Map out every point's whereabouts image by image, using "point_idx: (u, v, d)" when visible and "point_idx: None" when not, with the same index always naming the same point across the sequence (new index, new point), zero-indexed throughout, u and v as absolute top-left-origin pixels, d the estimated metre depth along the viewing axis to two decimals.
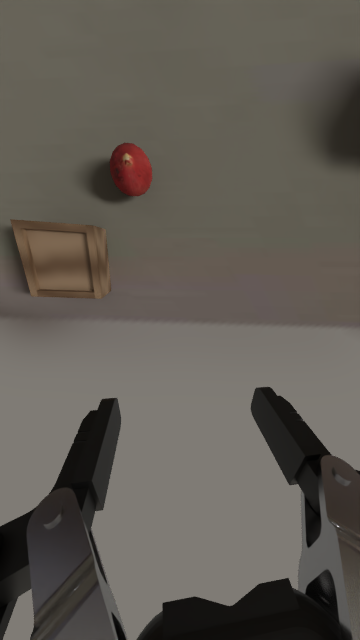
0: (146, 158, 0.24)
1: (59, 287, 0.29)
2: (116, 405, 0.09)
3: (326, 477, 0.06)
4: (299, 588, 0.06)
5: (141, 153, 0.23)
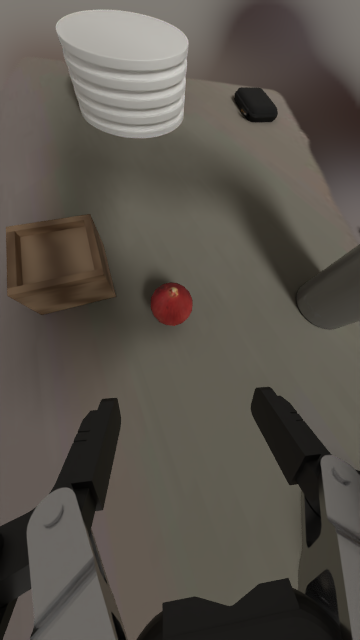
0: (186, 312, 0.23)
1: (24, 253, 0.24)
2: (116, 405, 0.09)
3: (326, 477, 0.06)
4: (299, 588, 0.06)
5: (187, 306, 0.22)
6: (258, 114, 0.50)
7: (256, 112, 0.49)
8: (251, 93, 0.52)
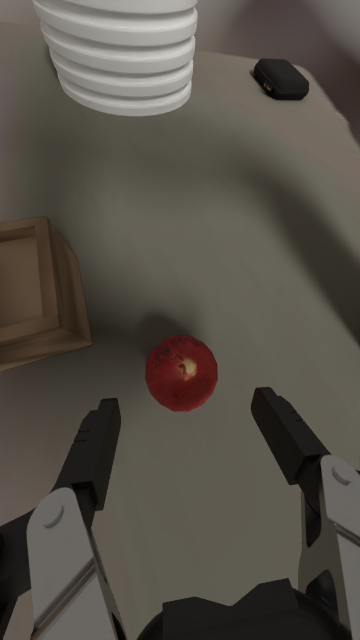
0: (209, 394, 0.12)
1: None
2: (116, 405, 0.09)
3: (326, 477, 0.06)
4: (299, 588, 0.06)
5: (211, 385, 0.12)
6: (286, 89, 0.40)
7: (283, 87, 0.39)
8: (275, 65, 0.42)
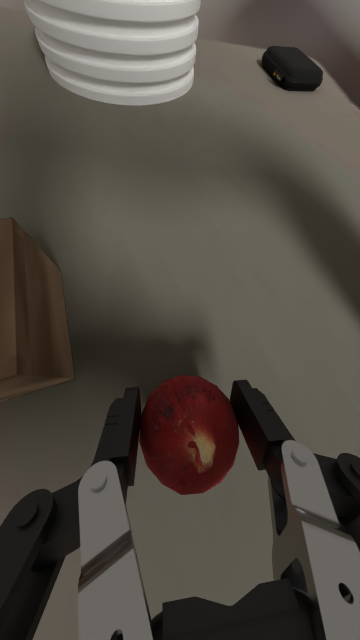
0: None
1: None
2: (138, 394, 0.10)
3: (287, 463, 0.06)
4: (274, 578, 0.06)
5: (232, 459, 0.08)
6: (298, 78, 0.36)
7: (295, 75, 0.36)
8: (286, 52, 0.38)
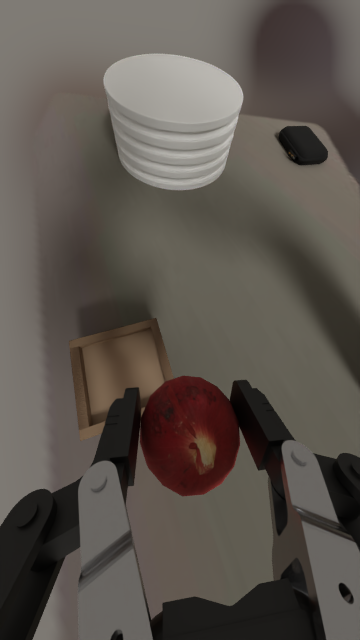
0: None
1: (88, 370, 0.21)
2: (138, 394, 0.10)
3: (287, 463, 0.06)
4: (274, 578, 0.06)
5: (233, 460, 0.08)
6: (308, 158, 0.47)
7: (306, 156, 0.46)
8: (299, 134, 0.49)
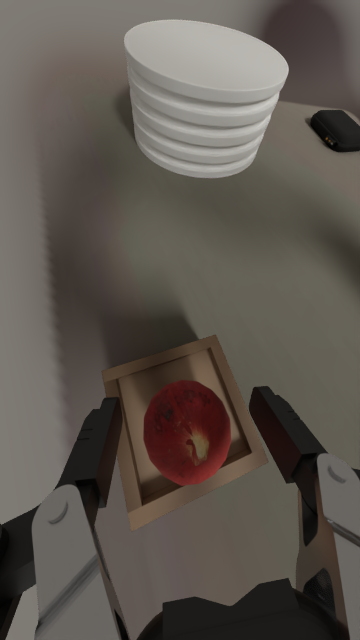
0: (222, 463, 0.10)
1: (130, 412, 0.15)
2: (118, 404, 0.09)
3: (322, 475, 0.06)
4: (297, 587, 0.06)
5: (225, 454, 0.10)
6: (348, 144, 0.42)
7: (347, 142, 0.41)
8: (335, 118, 0.44)
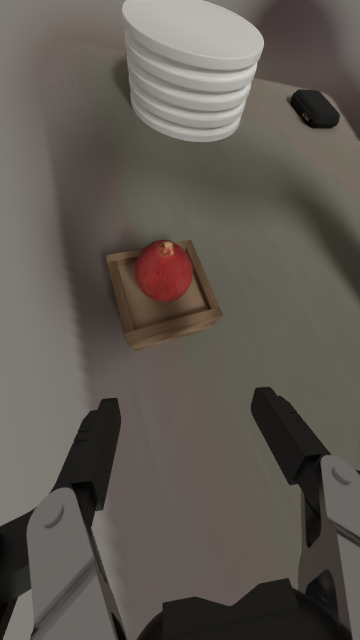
0: (184, 282, 0.16)
1: (126, 286, 0.21)
2: (116, 405, 0.09)
3: (326, 477, 0.06)
4: (299, 588, 0.06)
5: (186, 272, 0.16)
6: (321, 120, 0.47)
7: (320, 118, 0.47)
8: (311, 96, 0.49)
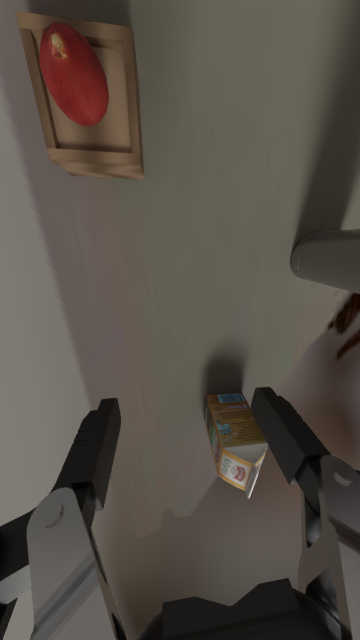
0: (90, 106, 0.17)
1: None
2: (116, 405, 0.09)
3: (326, 477, 0.06)
4: (299, 588, 0.06)
5: (88, 92, 0.16)
6: None
7: None
8: None
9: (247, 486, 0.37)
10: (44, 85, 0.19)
